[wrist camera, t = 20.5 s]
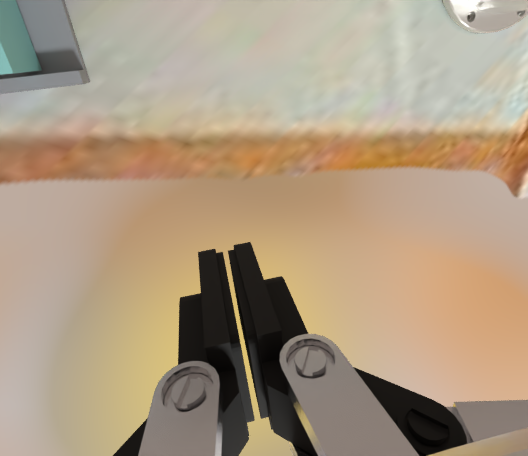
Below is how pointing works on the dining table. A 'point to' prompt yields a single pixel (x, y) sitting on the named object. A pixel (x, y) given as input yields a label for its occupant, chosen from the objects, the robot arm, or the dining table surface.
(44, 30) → the tray
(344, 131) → the dining table surface
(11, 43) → the clamp jaw
